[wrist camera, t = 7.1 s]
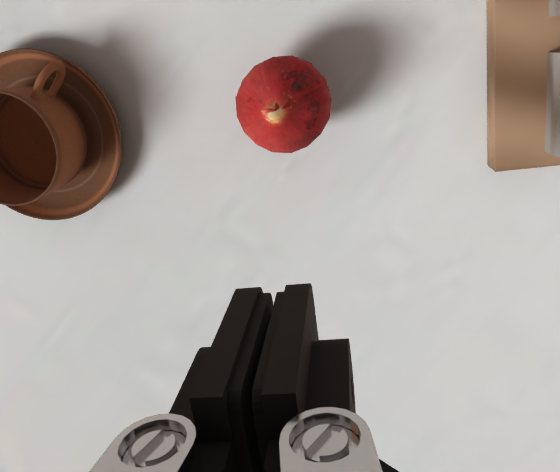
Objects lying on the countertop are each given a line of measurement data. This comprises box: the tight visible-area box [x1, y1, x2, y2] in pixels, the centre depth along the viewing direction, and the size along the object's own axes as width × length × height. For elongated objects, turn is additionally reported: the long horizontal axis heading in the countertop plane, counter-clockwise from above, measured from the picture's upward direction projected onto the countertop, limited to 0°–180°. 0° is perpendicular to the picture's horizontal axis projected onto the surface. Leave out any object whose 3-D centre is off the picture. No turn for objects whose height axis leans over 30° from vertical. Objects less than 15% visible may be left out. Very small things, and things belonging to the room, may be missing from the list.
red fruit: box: [236, 56, 331, 153], centre depth 33 cm, size 6×6×8 cm
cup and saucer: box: [0, 49, 122, 220], centre depth 37 cm, size 12×12×6 cm
